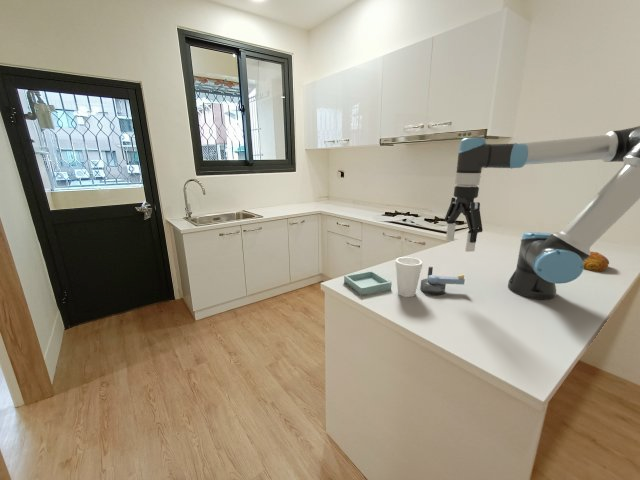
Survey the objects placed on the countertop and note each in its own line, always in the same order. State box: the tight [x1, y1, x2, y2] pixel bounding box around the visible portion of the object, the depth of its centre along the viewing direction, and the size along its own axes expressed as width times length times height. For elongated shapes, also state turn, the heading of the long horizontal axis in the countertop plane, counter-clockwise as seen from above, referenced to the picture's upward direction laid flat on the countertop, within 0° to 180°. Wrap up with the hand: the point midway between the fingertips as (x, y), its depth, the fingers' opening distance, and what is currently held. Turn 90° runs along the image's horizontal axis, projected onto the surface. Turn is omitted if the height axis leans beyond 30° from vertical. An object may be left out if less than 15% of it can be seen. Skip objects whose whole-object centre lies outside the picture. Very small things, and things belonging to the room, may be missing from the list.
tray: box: [343, 270, 392, 297], centre depth 119 cm, size 14×14×3 cm
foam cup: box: [395, 256, 423, 298], centre depth 111 cm, size 10×9×13 cm
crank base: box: [420, 266, 447, 296], centre depth 115 cm, size 12×10×6 cm
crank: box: [427, 273, 466, 285], centre depth 113 cm, size 13×4×3 cm, turn 84°
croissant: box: [583, 250, 610, 272], centre depth 140 cm, size 14×16×8 cm
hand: (459, 245), depth 106 cm, fingers open, 13 cm apart
